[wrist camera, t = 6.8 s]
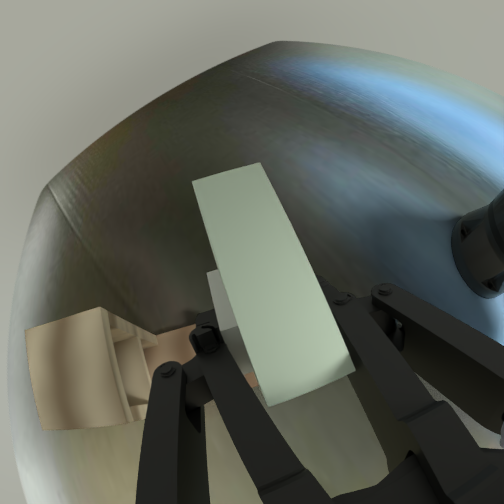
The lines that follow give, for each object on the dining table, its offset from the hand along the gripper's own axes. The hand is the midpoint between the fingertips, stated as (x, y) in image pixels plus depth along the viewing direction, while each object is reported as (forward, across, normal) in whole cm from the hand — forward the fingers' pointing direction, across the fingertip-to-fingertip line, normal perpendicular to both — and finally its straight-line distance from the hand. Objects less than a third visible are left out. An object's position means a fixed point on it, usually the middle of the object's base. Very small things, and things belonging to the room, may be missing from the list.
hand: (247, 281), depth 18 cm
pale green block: (+1, 0, -4) cm, 4 cm away
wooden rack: (+10, -8, -13) cm, 18 cm away
